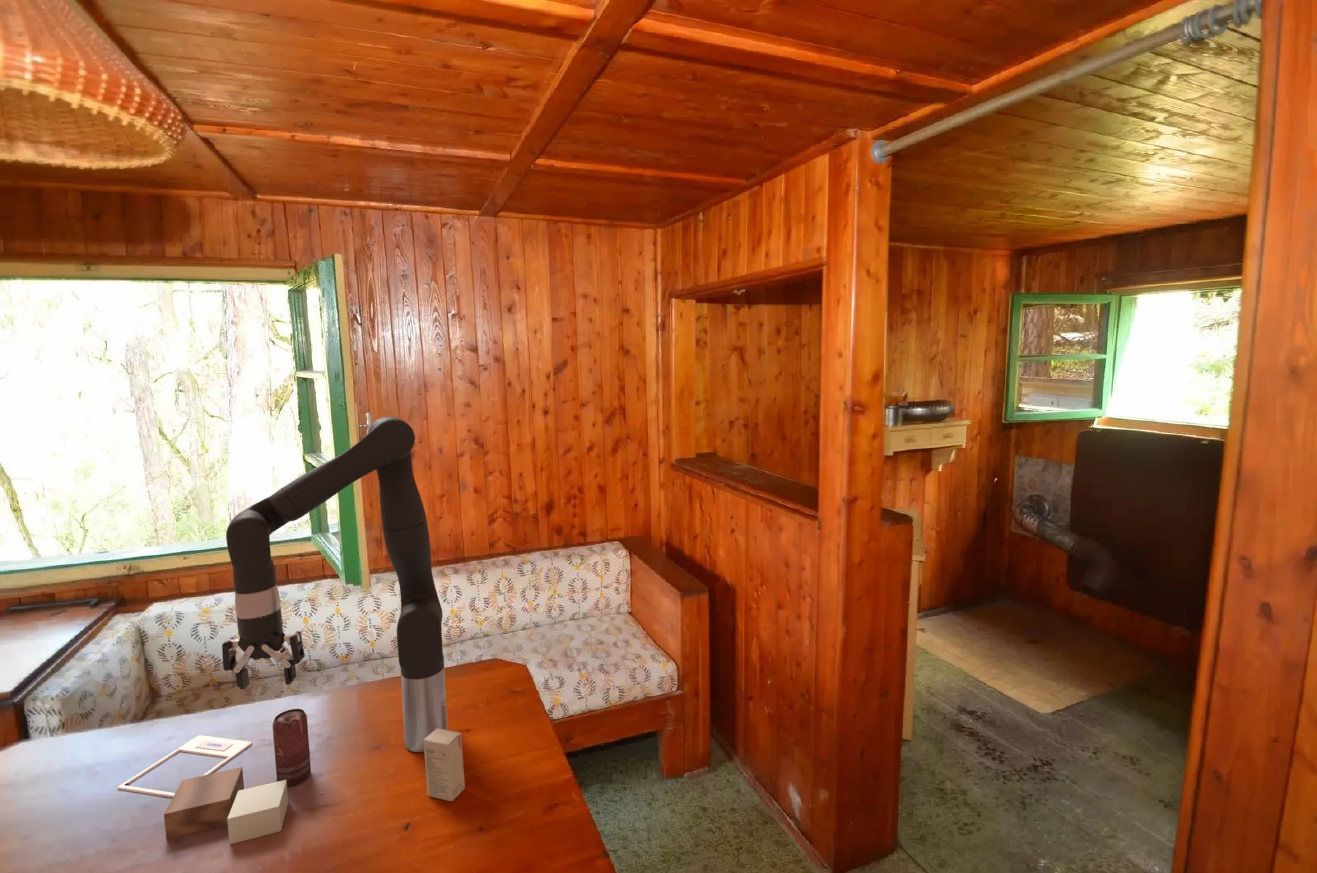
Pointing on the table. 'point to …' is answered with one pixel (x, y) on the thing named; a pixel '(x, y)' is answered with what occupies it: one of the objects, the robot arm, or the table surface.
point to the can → (291, 746)
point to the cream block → (258, 811)
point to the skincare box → (444, 764)
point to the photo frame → (197, 746)
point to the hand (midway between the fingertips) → (267, 685)
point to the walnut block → (202, 802)
